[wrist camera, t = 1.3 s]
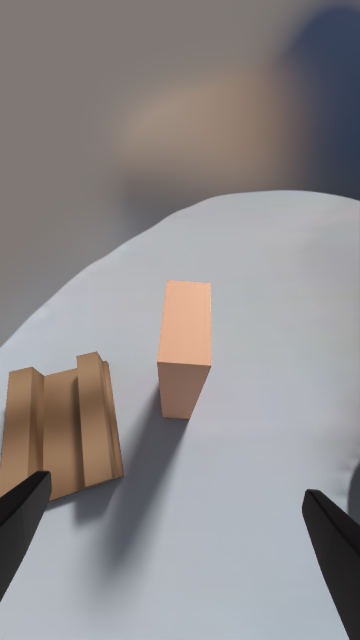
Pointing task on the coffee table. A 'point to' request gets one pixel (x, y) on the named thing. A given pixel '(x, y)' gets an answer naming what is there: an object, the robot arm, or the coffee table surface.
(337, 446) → the coffee table surface
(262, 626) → the coffee table surface
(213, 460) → the coffee table surface
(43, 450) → the rack
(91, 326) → the coffee table surface
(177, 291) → the peach rectangular block
